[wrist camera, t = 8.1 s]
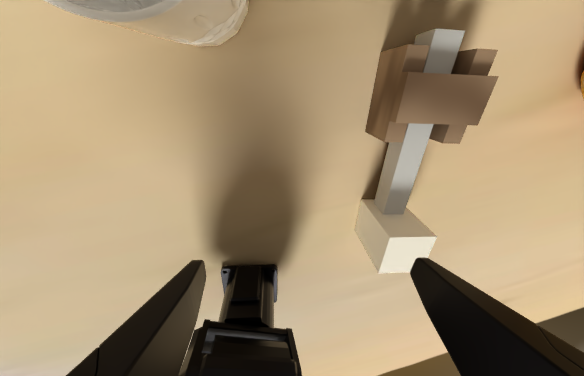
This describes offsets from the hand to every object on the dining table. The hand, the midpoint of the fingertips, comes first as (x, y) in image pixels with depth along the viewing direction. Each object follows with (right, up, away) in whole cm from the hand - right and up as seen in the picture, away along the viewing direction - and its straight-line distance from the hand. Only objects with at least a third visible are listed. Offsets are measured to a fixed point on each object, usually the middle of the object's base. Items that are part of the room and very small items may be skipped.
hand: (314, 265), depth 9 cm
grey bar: (+9, +7, +11) cm, 15 cm away
